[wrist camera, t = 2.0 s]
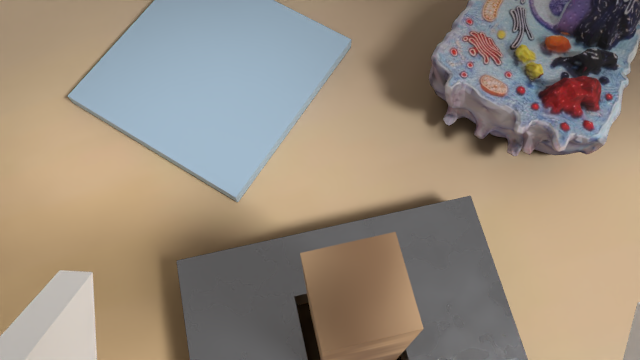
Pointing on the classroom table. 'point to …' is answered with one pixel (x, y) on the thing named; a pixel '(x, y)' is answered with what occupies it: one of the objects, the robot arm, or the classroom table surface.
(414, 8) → the classroom table surface
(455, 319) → the socket block
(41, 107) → the classroom table surface
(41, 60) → the classroom table surface
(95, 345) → the robot arm
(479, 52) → the cell model
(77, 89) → the blue board
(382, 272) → the walnut peg
